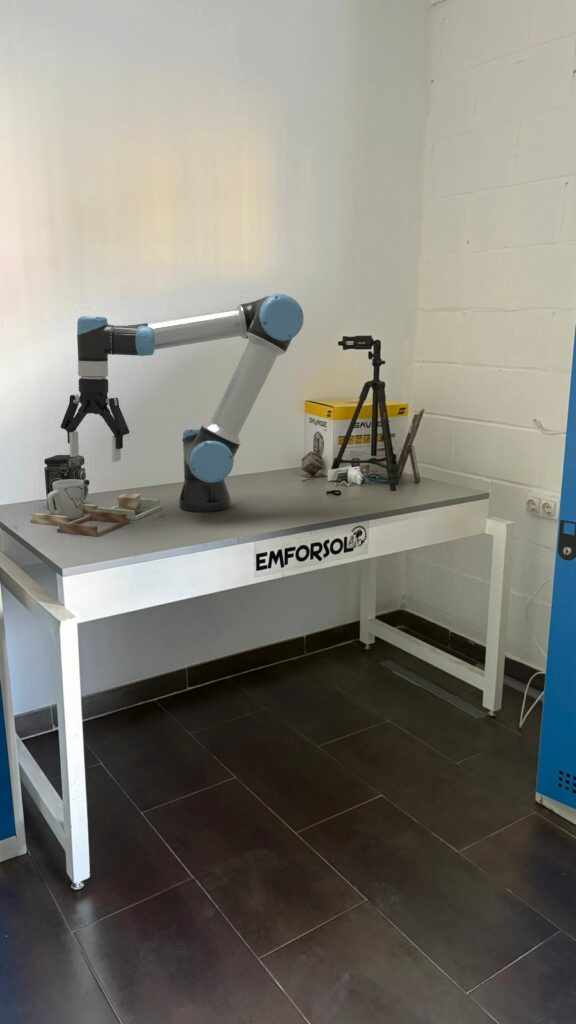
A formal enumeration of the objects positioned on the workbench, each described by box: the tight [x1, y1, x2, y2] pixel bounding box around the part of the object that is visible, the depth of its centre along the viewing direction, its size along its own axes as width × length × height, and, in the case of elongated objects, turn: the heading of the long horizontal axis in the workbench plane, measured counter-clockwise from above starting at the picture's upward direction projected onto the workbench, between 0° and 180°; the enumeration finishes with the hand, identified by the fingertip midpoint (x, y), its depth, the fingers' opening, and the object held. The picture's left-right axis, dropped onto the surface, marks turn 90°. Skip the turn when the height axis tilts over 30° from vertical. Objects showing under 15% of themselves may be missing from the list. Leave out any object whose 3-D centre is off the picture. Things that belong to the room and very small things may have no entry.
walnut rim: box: [56, 510, 130, 537], centre depth 204 cm, size 13×15×2 cm
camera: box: [44, 454, 90, 508], centre depth 227 cm, size 10×11×15 cm
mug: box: [46, 479, 85, 521], centre depth 213 cm, size 11×8×10 cm
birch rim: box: [30, 503, 99, 526], centre depth 214 cm, size 13×15×2 cm
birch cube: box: [117, 493, 142, 516], centre depth 221 cm, size 5×5×5 cm
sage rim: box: [98, 497, 163, 521], centre depth 221 cm, size 13×15×2 cm
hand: (95, 458), depth 205 cm, fingers open, 13 cm apart
